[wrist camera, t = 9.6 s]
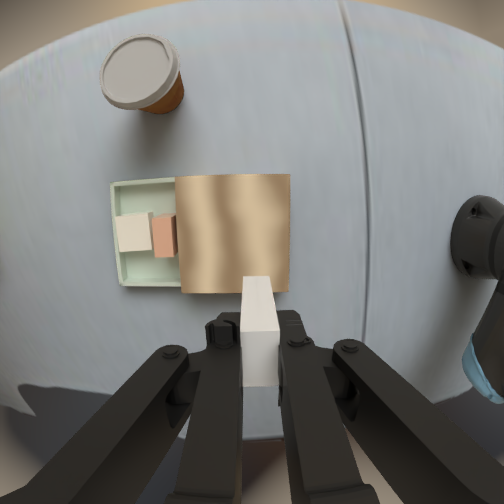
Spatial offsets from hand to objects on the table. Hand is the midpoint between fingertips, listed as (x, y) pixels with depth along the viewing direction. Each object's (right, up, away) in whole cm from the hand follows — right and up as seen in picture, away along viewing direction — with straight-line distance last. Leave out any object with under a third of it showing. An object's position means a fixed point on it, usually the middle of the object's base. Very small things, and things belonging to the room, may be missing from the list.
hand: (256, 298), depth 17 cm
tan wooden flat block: (-3, +6, +24) cm, 25 cm away
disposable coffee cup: (-13, +25, +19) cm, 34 cm away
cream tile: (-16, +5, +21) cm, 27 cm away
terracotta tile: (-10, +5, +21) cm, 24 cm away
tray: (-15, +6, +24) cm, 29 cm away
